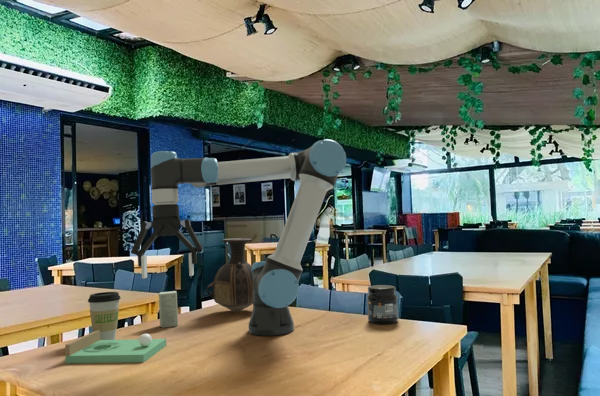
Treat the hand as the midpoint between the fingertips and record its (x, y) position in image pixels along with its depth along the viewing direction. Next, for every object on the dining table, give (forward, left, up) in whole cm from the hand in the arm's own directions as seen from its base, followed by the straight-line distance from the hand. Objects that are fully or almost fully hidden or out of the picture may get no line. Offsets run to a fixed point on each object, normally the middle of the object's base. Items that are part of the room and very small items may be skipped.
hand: (168, 276), depth 131 cm
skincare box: (+12, -32, -22) cm, 41 cm away
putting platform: (+14, +2, -21) cm, 26 cm away
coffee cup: (+26, -13, -22) cm, 37 cm away
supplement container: (-65, -32, -22) cm, 75 cm away
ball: (+6, +2, -18) cm, 19 cm away
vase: (-9, -53, -22) cm, 58 cm away
